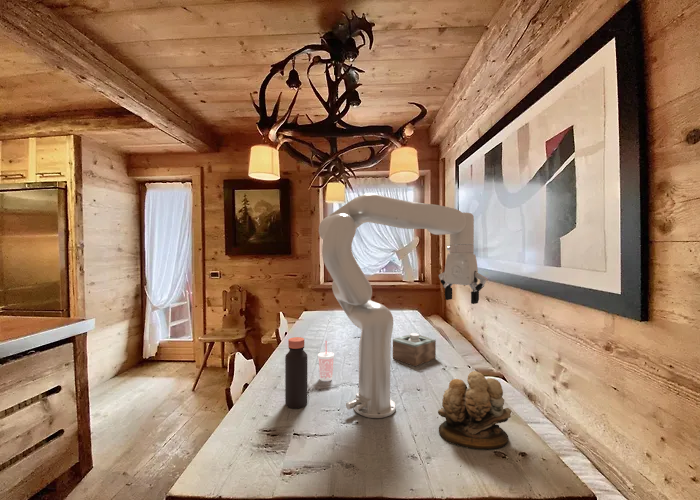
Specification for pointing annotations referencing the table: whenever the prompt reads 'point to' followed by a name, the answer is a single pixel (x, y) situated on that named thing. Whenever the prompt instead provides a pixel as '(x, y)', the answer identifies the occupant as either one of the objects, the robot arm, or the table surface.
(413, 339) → the pill bottle
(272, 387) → the table surface
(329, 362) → the beverage cup
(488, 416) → the owl figurine
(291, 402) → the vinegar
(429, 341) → the box
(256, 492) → the table surface
